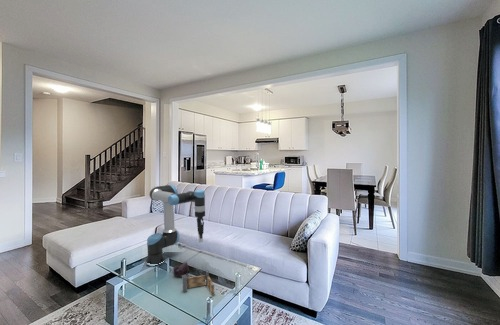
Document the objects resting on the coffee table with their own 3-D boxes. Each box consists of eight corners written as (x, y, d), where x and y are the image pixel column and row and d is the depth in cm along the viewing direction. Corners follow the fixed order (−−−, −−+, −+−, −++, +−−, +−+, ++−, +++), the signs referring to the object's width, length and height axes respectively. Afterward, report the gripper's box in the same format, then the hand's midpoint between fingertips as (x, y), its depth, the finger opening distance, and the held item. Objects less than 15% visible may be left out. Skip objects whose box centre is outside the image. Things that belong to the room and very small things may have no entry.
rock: (173, 276, 174) (177, 281, 166) (171, 265, 173) (174, 271, 165) (188, 269, 180) (192, 274, 172) (186, 259, 179) (190, 263, 171)
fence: (207, 286, 158) (206, 276, 157) (209, 285, 158) (208, 275, 158) (212, 296, 147) (211, 285, 147) (214, 295, 148) (213, 284, 147)
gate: (205, 284, 160) (205, 274, 159) (205, 285, 158) (205, 275, 158) (187, 287, 156) (186, 277, 156) (187, 289, 155) (186, 278, 155)
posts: (182, 290, 153) (181, 275, 153) (208, 283, 161) (208, 268, 161) (182, 293, 151) (182, 277, 150) (209, 285, 158) (209, 270, 158)
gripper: (193, 209, 172) (193, 239, 174) (196, 213, 161) (197, 246, 162) (202, 208, 176) (203, 238, 177) (207, 212, 164) (208, 244, 165)
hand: (200, 242), depth 169 cm, fingers closed
